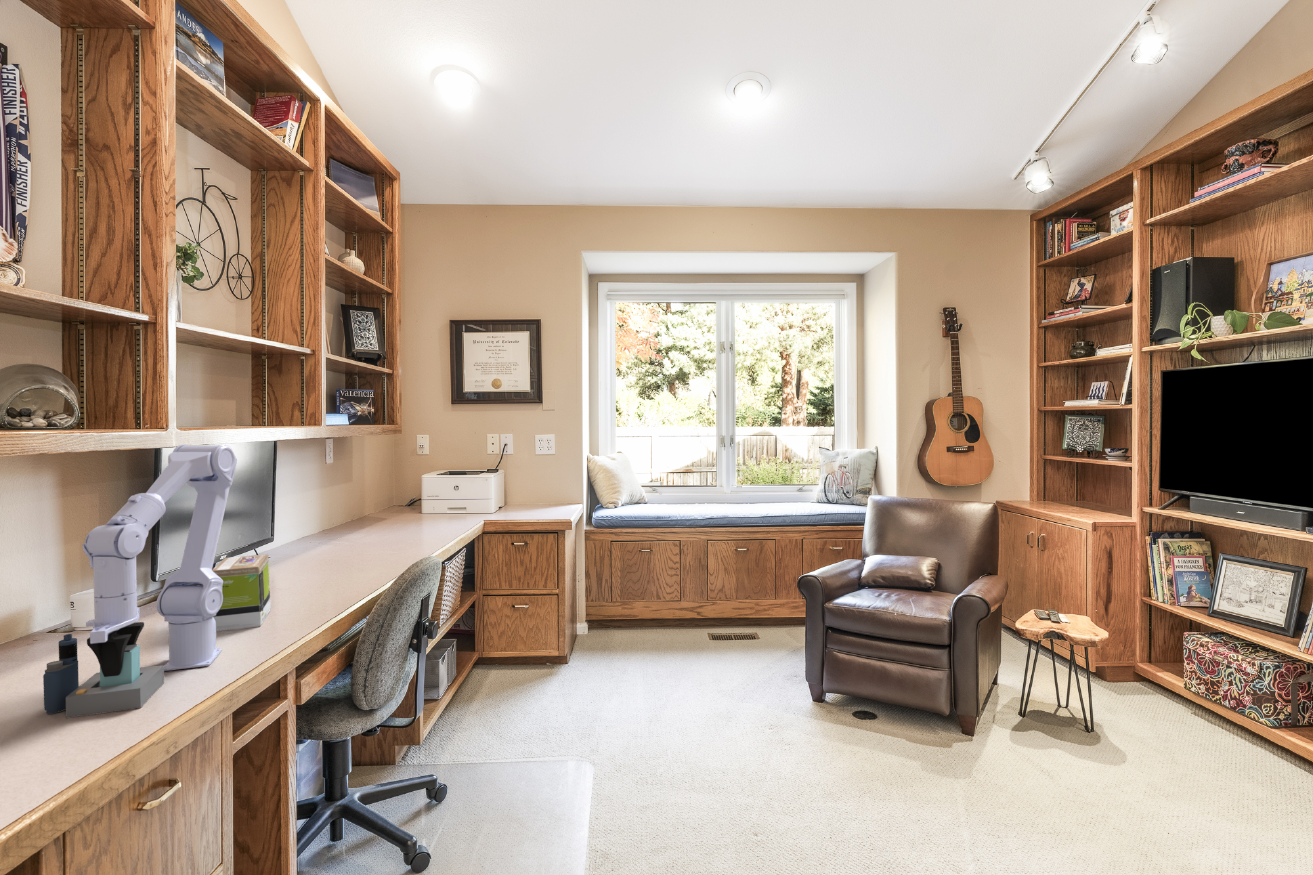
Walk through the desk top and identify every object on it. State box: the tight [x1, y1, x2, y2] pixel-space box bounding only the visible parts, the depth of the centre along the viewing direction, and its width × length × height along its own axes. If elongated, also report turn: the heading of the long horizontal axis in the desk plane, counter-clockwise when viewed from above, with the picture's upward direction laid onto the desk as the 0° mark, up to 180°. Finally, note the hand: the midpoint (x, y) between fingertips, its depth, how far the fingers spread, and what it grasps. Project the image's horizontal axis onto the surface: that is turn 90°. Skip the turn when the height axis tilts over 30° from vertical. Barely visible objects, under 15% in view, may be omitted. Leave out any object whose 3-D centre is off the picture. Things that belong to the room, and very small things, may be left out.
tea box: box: [212, 553, 272, 633], centre depth 156 cm, size 15×10×15 cm, turn 23°
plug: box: [99, 643, 141, 687], centre depth 112 cm, size 4×4×6 cm
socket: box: [65, 664, 165, 719], centre depth 112 cm, size 11×10×4 cm
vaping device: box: [42, 633, 80, 715], centre depth 109 cm, size 3×5×12 cm, turn 2°
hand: (117, 671), depth 112 cm, fingers closed on plug, 4 cm apart
